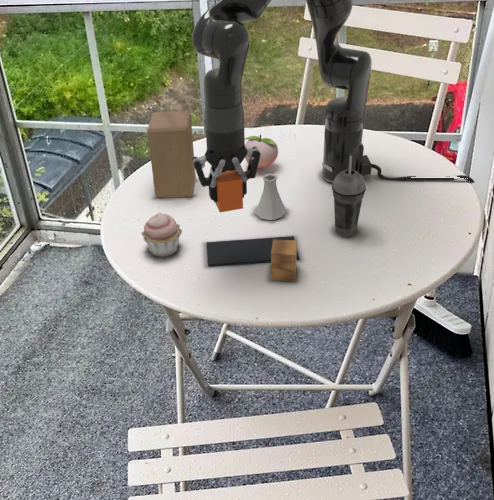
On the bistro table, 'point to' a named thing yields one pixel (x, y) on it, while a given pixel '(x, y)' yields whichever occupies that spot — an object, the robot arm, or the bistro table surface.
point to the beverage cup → (347, 200)
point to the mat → (242, 251)
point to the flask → (270, 200)
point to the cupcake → (161, 234)
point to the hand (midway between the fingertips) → (228, 197)
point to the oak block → (283, 260)
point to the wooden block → (172, 153)
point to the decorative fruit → (263, 150)
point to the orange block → (229, 191)
